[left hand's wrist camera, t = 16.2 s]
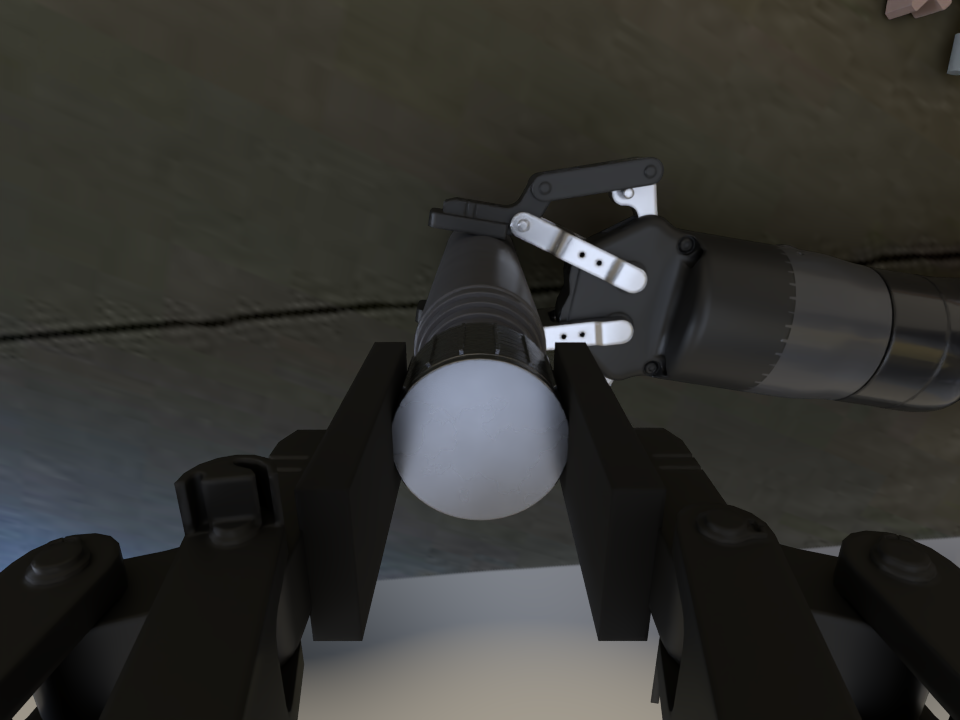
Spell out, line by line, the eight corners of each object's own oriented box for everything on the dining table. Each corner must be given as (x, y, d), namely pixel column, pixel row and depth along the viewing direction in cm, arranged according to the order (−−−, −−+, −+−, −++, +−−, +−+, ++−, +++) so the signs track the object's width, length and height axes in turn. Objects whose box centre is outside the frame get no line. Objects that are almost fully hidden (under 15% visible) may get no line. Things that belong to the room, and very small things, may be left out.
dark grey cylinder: (479, 202, 34) (478, 301, 12) (527, 251, 35) (612, 428, 12) (432, 252, 35) (347, 431, 12) (480, 298, 36) (481, 540, 13)
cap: (520, 481, 15) (527, 544, 13) (382, 432, 15) (363, 488, 12) (582, 354, 14) (604, 397, 12) (435, 296, 13) (425, 328, 11)
